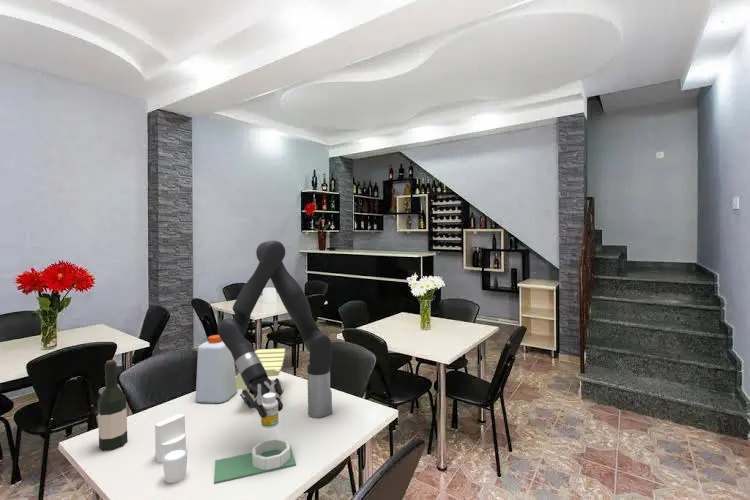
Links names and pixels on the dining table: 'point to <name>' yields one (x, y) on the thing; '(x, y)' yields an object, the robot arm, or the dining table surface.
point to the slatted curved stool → (266, 365)
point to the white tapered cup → (175, 465)
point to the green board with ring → (255, 461)
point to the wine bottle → (112, 412)
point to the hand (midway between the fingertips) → (273, 413)
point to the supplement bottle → (270, 410)
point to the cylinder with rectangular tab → (169, 436)
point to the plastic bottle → (215, 372)
